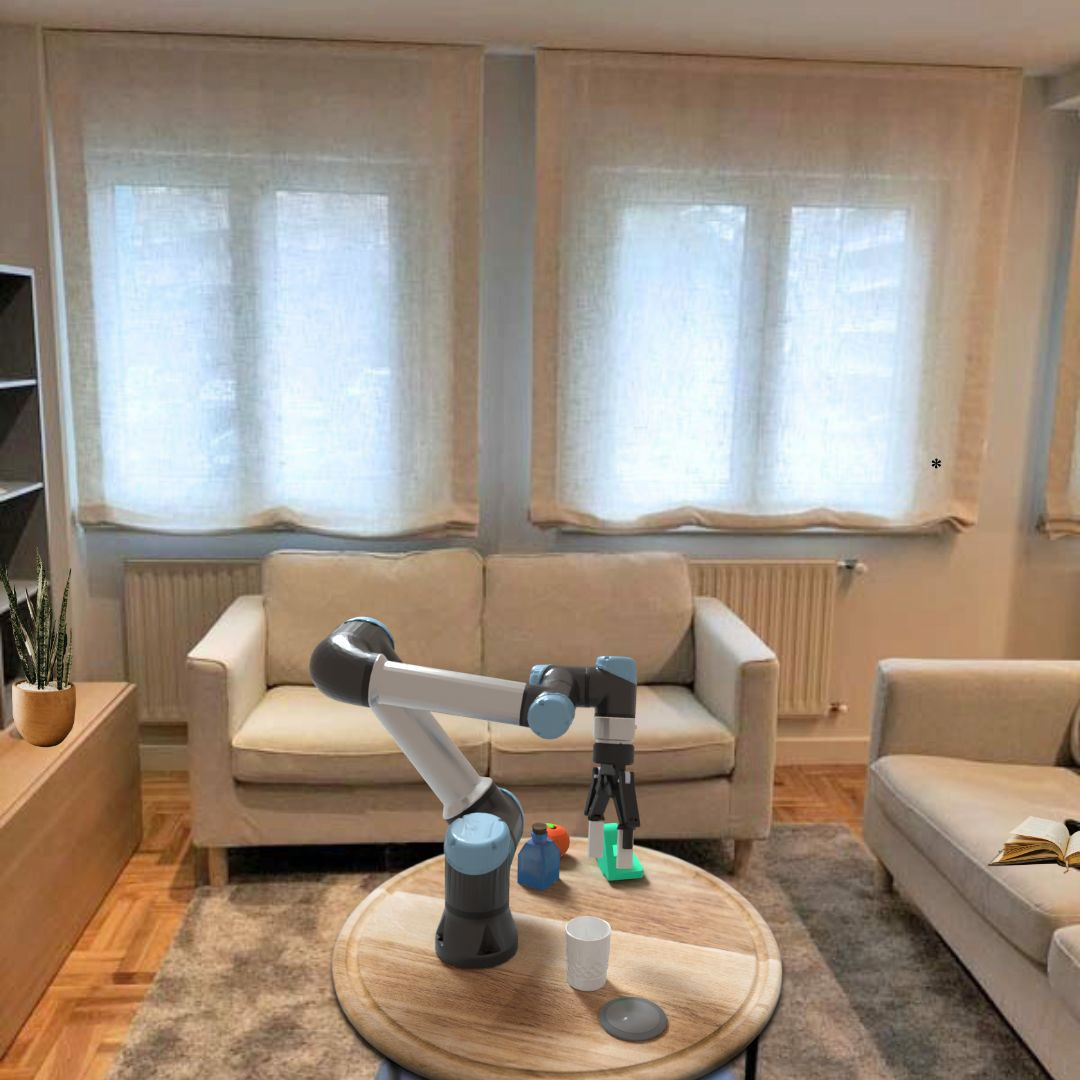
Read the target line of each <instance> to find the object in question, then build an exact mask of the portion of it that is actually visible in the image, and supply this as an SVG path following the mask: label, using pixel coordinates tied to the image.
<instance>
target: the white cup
mask: <svg viewBox="0 0 1080 1080" xmlns="http://www.w3.org/2000/svg"><path fill="white" fill-rule="evenodd" d="M564 927H565V929H564V930H565V933H564V935H565V957H566V958H565V962H566V963H565V964H566V979H567V982H568V985H569V986H570V987H572V988H574V989H575V990H579V991H582V992H593V991H597V990H600V989H601V988H603V987H604V986H605V985H606V982H607V975H608V972H607V971H608V968H609V959H610V951H611V950H610V948H611V936H612V935H611V934H612V927H611V925H610V924H609V923H608V921H606V920H604V919H602V918H600V917H597V916H589V915H583V916H582V915H581V916H577V917H574V918H571V919H570V920H569V921H567V923H565V926H564Z"/></svg>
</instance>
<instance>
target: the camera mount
mask: <svg viewBox="0 0 1080 1080" xmlns="http://www.w3.org/2000/svg"><path fill="white" fill-rule="evenodd" d="M618 825H619V823H617V822H612V823H604V835H603V858H596V859H597V866H598V868H599V871H600V872H601V874H602V876H603V877H606V879H607V881H620V880H630V879H641V878H643V877H644V867H643V865H642V864H641V862H640V860H639V858H638V856H636V852H634V851H633V866H632V869H618V868H616V863H617V836H618V830H617V827H618Z"/></svg>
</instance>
